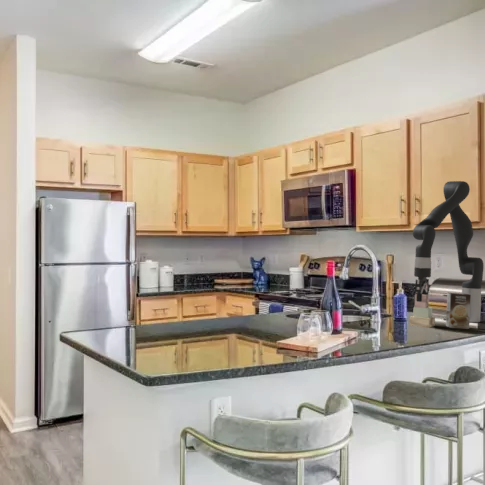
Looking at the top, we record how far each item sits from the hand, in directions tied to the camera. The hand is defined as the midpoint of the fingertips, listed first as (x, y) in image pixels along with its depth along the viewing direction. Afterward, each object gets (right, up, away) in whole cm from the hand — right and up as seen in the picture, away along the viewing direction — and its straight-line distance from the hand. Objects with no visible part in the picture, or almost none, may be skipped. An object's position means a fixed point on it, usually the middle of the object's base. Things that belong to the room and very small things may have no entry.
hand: (421, 300), depth 257 cm
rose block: (0, -3, 0) cm, 3 cm away
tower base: (0, -12, 0) cm, 12 cm away
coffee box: (+16, -13, -2) cm, 20 cm away
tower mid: (0, -8, 0) cm, 8 cm away
